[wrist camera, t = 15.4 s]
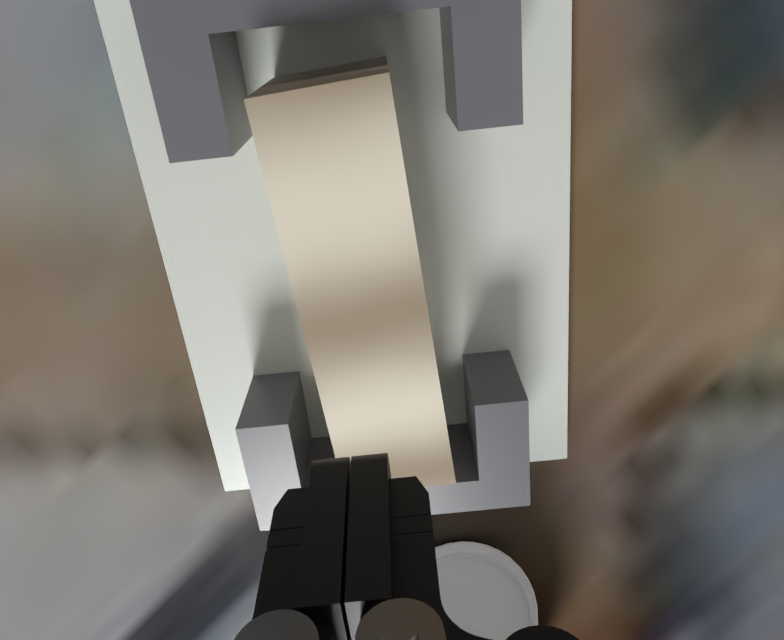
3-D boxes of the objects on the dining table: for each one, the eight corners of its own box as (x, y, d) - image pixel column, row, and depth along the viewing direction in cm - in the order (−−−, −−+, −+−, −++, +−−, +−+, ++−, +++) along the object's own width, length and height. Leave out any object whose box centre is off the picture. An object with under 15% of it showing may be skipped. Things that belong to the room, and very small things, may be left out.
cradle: (95, -37, 23) (25, -46, 18) (565, -93, 22) (612, -116, 18) (229, 477, 32) (205, 554, 28) (561, 445, 32) (591, 518, 27)
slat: (274, 77, 23) (243, 99, 18) (386, 56, 23) (389, 72, 18) (351, 408, 29) (345, 499, 24) (441, 394, 29) (456, 483, 24)
